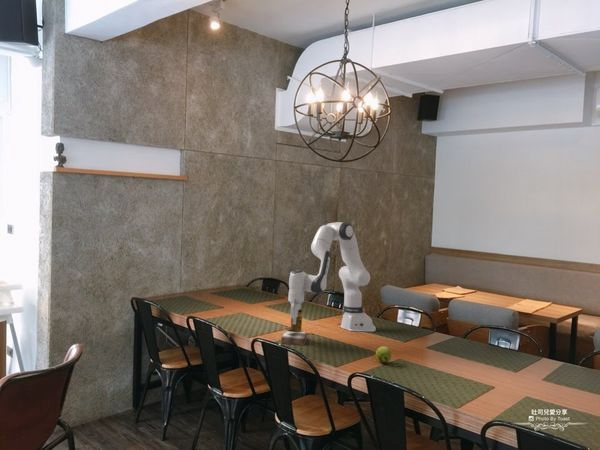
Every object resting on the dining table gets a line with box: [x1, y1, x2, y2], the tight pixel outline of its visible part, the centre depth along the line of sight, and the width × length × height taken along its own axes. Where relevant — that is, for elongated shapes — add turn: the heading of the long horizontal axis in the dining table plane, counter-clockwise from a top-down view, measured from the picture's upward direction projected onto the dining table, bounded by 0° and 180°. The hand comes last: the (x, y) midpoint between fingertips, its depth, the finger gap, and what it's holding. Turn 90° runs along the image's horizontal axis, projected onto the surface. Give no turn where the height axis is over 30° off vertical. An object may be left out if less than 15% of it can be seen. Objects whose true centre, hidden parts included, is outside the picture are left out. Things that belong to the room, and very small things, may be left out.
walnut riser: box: [280, 330, 308, 346], centre depth 284 cm, size 13×13×4 cm
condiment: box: [284, 308, 305, 333], centre depth 283 cm, size 7×8×12 cm
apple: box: [375, 345, 392, 364], centre depth 253 cm, size 8×9×8 cm
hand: (295, 322), depth 283 cm, fingers closed on condiment, 6 cm apart
